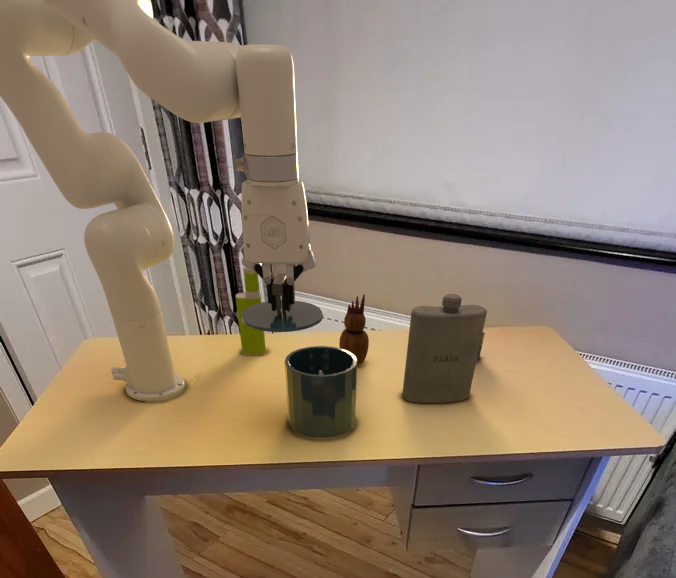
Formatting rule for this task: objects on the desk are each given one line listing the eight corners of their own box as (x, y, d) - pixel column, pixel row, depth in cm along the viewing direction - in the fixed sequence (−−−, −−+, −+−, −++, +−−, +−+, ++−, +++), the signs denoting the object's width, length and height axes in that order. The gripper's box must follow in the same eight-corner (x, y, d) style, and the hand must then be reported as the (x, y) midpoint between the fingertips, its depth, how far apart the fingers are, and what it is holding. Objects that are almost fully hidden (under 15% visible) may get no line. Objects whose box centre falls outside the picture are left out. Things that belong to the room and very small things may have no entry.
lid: (234, 334, 84) (228, 291, 80) (250, 305, 94) (246, 265, 89) (318, 337, 84) (317, 293, 79) (326, 307, 93) (326, 267, 88)
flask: (405, 404, 109) (417, 302, 94) (400, 392, 113) (410, 291, 98) (472, 402, 110) (495, 300, 95) (465, 389, 114) (485, 290, 99)
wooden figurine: (371, 362, 123) (375, 293, 112) (359, 370, 120) (362, 300, 109) (347, 355, 126) (349, 287, 115) (335, 363, 123) (336, 294, 111)
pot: (284, 438, 99) (280, 374, 90) (293, 405, 108) (290, 344, 99) (353, 441, 99) (355, 377, 89) (356, 408, 108) (358, 347, 98)
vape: (265, 355, 125) (257, 260, 111) (241, 354, 125) (229, 260, 111) (267, 349, 128) (259, 256, 113) (243, 348, 128) (232, 255, 113)
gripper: (212, 173, 72) (232, 314, 85) (323, 175, 71) (325, 317, 84) (224, 164, 77) (241, 300, 90) (328, 166, 76) (329, 302, 90)
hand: (282, 307), depth 87 cm, fingers closed on lid
